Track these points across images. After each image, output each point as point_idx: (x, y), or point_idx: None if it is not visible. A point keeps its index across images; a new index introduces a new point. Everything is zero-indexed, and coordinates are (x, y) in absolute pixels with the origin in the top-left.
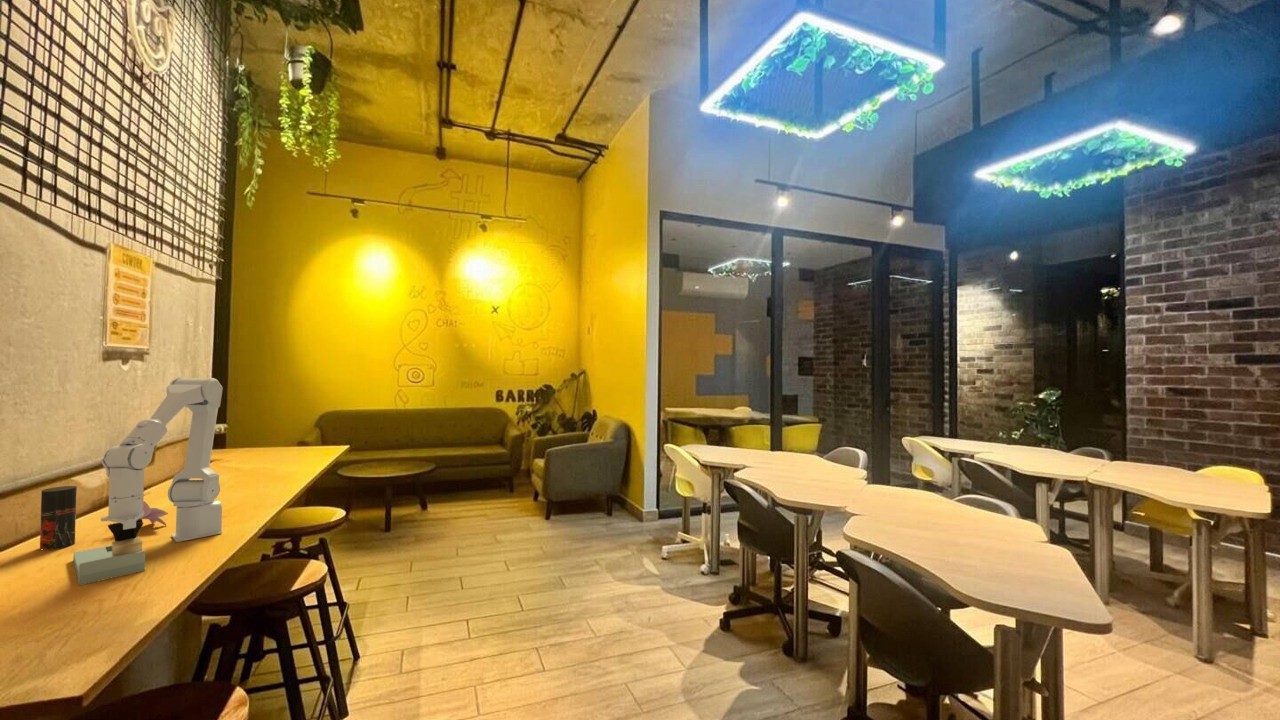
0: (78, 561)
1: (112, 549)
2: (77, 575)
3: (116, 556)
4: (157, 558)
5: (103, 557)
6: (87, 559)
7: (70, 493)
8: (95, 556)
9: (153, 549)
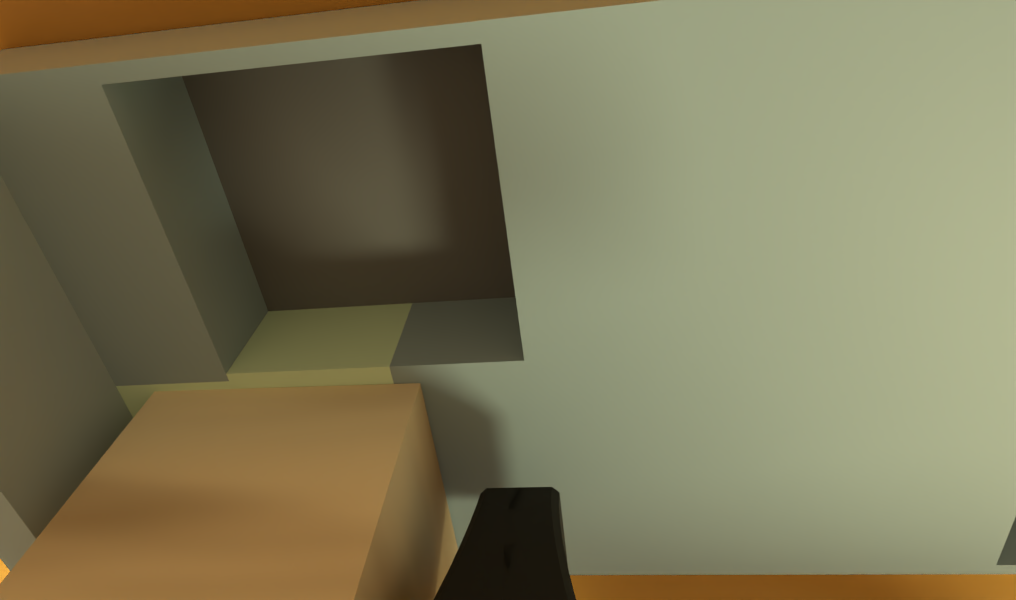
0: (871, 13)
1: (266, 553)
2: (381, 9)
3: (3, 530)
4: (574, 580)
5: (762, 314)
6: (867, 137)
7: None
8: (954, 231)
9: (970, 589)
